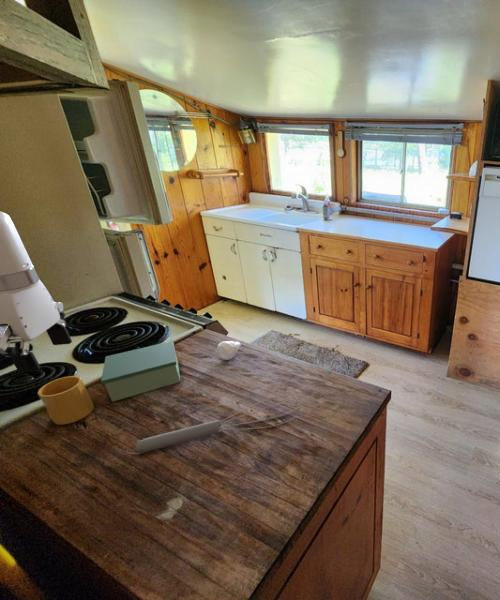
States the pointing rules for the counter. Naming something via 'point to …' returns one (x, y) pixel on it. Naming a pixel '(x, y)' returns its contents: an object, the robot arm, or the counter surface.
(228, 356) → the garlic bulb
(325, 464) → the counter surface
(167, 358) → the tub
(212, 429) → the kitchen whisk
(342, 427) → the counter surface
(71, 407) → the cup
